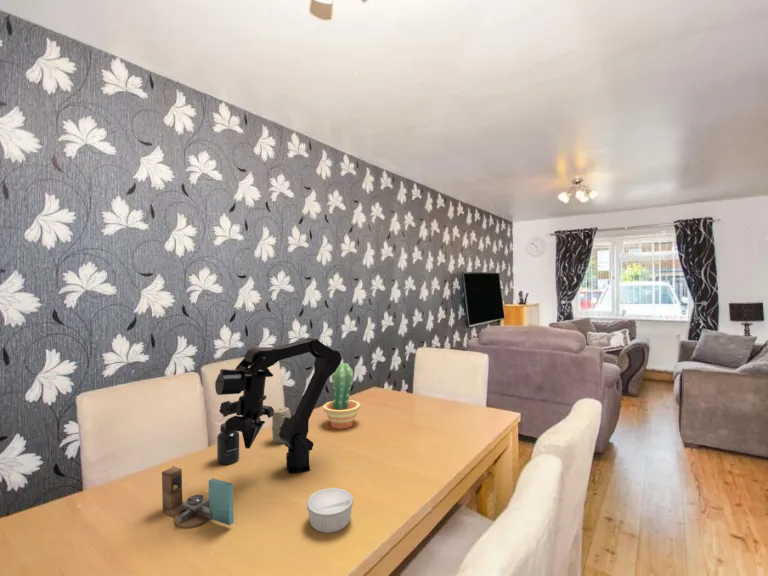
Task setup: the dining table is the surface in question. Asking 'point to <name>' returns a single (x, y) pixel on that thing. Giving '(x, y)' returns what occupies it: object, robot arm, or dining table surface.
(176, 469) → the stand
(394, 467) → the dining table surface
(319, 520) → the ramekin
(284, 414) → the beige piece
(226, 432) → the supplement bottle
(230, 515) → the turnstile
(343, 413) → the potted cactus
